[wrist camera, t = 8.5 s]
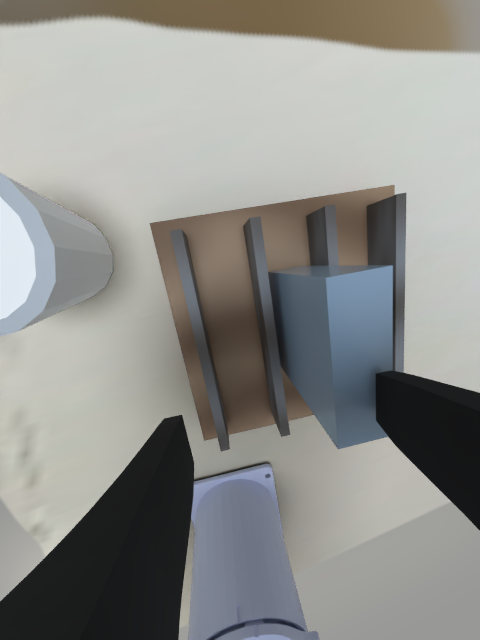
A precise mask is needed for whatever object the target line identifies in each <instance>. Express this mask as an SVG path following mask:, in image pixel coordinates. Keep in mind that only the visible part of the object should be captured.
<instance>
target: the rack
mask: <svg viewBox="0 0 480 640" xmlns="http://www.w3.org/2000/svg"><path fill="white" fill-rule="evenodd" d="M150 226H151V230H152V234H153V238H154V242H155V246H156V250H157V254H158V258H159V262H160V266H161V270H162V274H163V278H164V282H165V286H166V290H167V294H168V298H169V302H170V306H171V310H172V314H173V318H174V322H175V326H176V330H177V334H178V338H179V342H180V346H181V350H182V354H183V358H184V362H185V366H186V370H187V374H188V378H189V382H190V386H191V389H192V393H193V397H194V401H195V405H196V409H197V413H198V417H199V421H200V425H201V429H202V433H203V437H204V441H205V440H209V439H213V438H217V437H218V441H219V445H220V449H221V451H224V450H228V449H230V447H229V437H228V435H230V434H234V433H238V432H243V431H247V430H251V429H255V428H260V427H264V426H268V425H272V424H276V425H277V427H278V429H279V432H280V434H281V437H282V436H286V435H290V431H289V424H288V421H289V420H294V419H298V418H302V417H306V416H310V415H314V414H313V412H312V411H311V409H310V408H309V406H308V405H307V403H306V402H305V401H304V399H303V398H302V396H301V395H300V393H299V392H298V390H297V389H296V388H295V386H294V385H293V383H292V382H291V380H290V379H289V378H288V376H287V375H286V373H285V372H284V370H283V369H282V367H281V365H280V357H279V350H278V343H277V335H276V328H275V320H274V313H273V305H272V298H271V291H270V283H269V276H268V272H269V271H275V270H280V269H286V268H291V267H297V266H345V265H393V371H397V372H402V373H403V370H404V305H405V240H406V193H402V194H396V195H394V185H391V186H385V187H378V188H372V189H366V190H359V191H353V192H346V193H340V194H334V195H327V196H321V197H314V198H308V199H302V200H295V201H289V202H283V203H276V204H270V205H263V206H257V207H251V208H244V209H238V210H231V211H225V212H219V213H212V214H206V215H199V216H193V217H187V218H180V219H174V220H168V221H161V222H155V223H150Z"/></svg>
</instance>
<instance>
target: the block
mask: <svg viewBox="0 0 480 640" xmlns="http://www.w3.org/2000/svg"><path fill="white" fill-rule="evenodd" d="M268 276H269V283H270V291H271V298H272V305H273V313H274V320H275V328H276V335H277V343H278V350H279V357H280V365H281V367H282V369H283V370H284V372H285V373H286V375H287V376H288V378H289V379H290V380H291V382H292V383H293V385H294V386H295V388H296V389H297V390H298V392H299V393H300V395H301V396H302V398H303V399H304V401H305V402H306V403H307V405H308V406H309V408H310V409H311V411H312V412H313V414H314V415H315V416H316V418H317V419H318V421H319V422H320V424H321V425H322V427H323V428H324V429H325V431H326V432H327V434H328V435H329V437H330V438H331V440H332V441H333V442H334V444H335V445H336V447H337V448H338V449H341V448H345V447H349V446H353V445H356V444H360V443H364V442H368V441H372V440H376V439H380V438H384V437H388V435H387V434H386V433H385V432H384V430H383V429H382V428H381V426H380V425H379V424H378V423H377V421H376V373H381V372H386V371H390V370H391V371H393V265H345V266H297V267H291V268H286V269H280V270H275V271H269V272H268Z"/></svg>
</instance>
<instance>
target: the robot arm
mask: <svg viewBox="0 0 480 640" xmlns="http://www.w3.org/2000/svg"><path fill="white" fill-rule="evenodd" d="M376 421H377V423H378V424H379V425H380V426H381V428H382V429H383V430H384V432H385V433H386V434H387V435H388V437H389V438H390V439H391V440H392V442H393V443H394V444H395V445H396V446H397V447H398V448H399V449H400V451H401V452H402V453H403V454H404V455H405V456H406V457H407V458H408V459H409V460H410V461H411V462H412V463H413V464H414V465H415V466H416V467H417V468H418V469H419V470H420V471H421V472H422V473H423V474H424V475H425V476H426V477H427V478H428V479H429V480H430V481H431V482H432V483H433V484H434V485H435V486H436V487H437V488H438V489H439V490H440V491H441V492H442V493H443V494H444V495H445V496H446V497H447V498H448V499H449V500H450V501H451V502H452V503H454V505H456V506H457V508H458V509H459V510H461V511H462V512H463V513H464V514H465V516H466V517H467V518H468V519H469V520H470V521H471V522H472V523H473V524H474V525H475V526H476V527H477V528H478V529H479V530H480V393H478V392H474V391H470V390H467V389H463V388H459V387H455V386H452V385H448V384H444V383H441V382H437V381H433V380H430V379H426V378H422V377H418V376H414V375H410V374H406V373H402V372H397V371H391V370H390V371H386V372H381V373H376ZM191 519H192V522H193V525H194V529H195V536H194V552H193V568H192V584H191V601H190V617H189V633H188V640H320V639H319V635H318V632H316V631H312V632H308V630H307V627H306V623H305V619H304V615H303V612H302V608H301V604H300V600H299V597H298V593H297V589H296V585H295V581H294V577H293V574H292V570H291V566H290V562H289V558H288V555H287V551H286V547H285V543H284V540H283V531H282V525H281V519H280V513H279V507H278V501H277V495H276V489H275V483H274V477H273V471H272V467H271V465H270V464H263V465H259V466H255V467H251V468H247V469H243V470H239V471H235V472H231V473H227V474H223V475H219V476H215V477H211V478H207V479H203V480H199V481H195V482H194V461H193V457H192V453H191V449H190V445H189V441H188V437H187V433H186V429H185V425H184V421H183V417H182V415H179V416H174V417H170V418H165V419H164V420H163V421H162V422H161V423H160V425H159V426H158V427H157V428H156V430H155V431H154V432H153V434H152V435H151V436H150V438H149V439H148V440H147V442H146V443H145V444H144V445H143V447H142V448H141V449H140V451H139V452H138V453H137V454H136V456H135V457H134V458H133V459H132V461H131V462H130V463H129V465H128V466H127V467H126V468H125V470H124V471H123V472H122V473H121V474H120V476H119V477H118V478H117V479H116V480H115V481H114V483H113V484H112V485H111V486H110V487H109V488H108V490H107V491H106V492H105V493H104V494H103V496H102V497H101V498H100V499H99V500H98V501H97V503H96V504H95V505H94V506H93V507H92V508H91V509H90V511H89V512H88V513H87V514H86V515H85V516H84V517H83V518H82V519H81V521H80V522H79V523H78V524H77V525H76V526H75V527H74V528H73V529H72V530H71V531H70V532H69V533H68V534H67V536H66V537H65V538H64V539H63V540H62V541H61V542H60V543H59V544H58V545H57V546H56V547H55V548H54V549H53V550H52V551H51V552H50V553H49V554H48V555H47V556H46V557H45V558H44V559H43V561H41V562H40V564H38V565H37V566H36V567H35V568H34V570H33V571H32V572H31V573H29V574H28V575H27V577H25V578H24V579H23V580H22V581H21V582H20V583H19V584H18V585H17V586H16V587H15V588H14V589H13V590H12V591H11V592H10V593H9V594H8V595H7V596H6V597H4V598H3V600H2V601H0V640H178V635H179V619H180V608H181V597H182V588H183V580H184V571H185V563H186V555H187V547H188V538H189V530H190V522H191Z"/></svg>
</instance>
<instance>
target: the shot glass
mask: <svg viewBox="0 0 480 640" xmlns="http://www.w3.org/2000/svg"><path fill="white" fill-rule="evenodd" d="M112 272H113V255H112V252H111V250H110V247H109V244H108V242H107V239H106V238H105V237H104V236H103V235H102V233H101V232H100V231H99V230H98V229H97V228H96V227H95V226H94V224H92V223H90V222H88V221H87V220H85V219H83V218H81V217H79V216H78V215H76V214H74V213H72V212H70V211H69V210H67V209H65V208H63V207H61V206H59V205H58V204H56V203H54V202H52V201H50V200H49V199H47V198H45V197H43V196H41V195H40V194H38V193H36V192H34V191H32V190H30V189H29V188H27V187H25V186H23V185H21V184H20V183H18V182H16V181H14V180H12V179H11V178H9V177H7V176H5V175H3V174H1V173H0V336H3V335H6V334H10V333H14V332H17V331H20V330H22V329H24V328H26V327H28V326H31V325H33V324H35V323H37V322H39V321H41V320H43V319H46V318H48V317H50V316H52V315H54V314H56V313H58V312H61V311H63V310H65V309H67V308H69V307H71V306H73V305H75V304H78V303H80V302H82V301H84V300H86V299H88V298H90V297H93V296H94V295H96V294H97V293H98V292H99V291H101V290H102V289H103V288H104V287H105V286H106V285H107V283H108V281H109V279H110V277H111V274H112Z"/></svg>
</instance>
